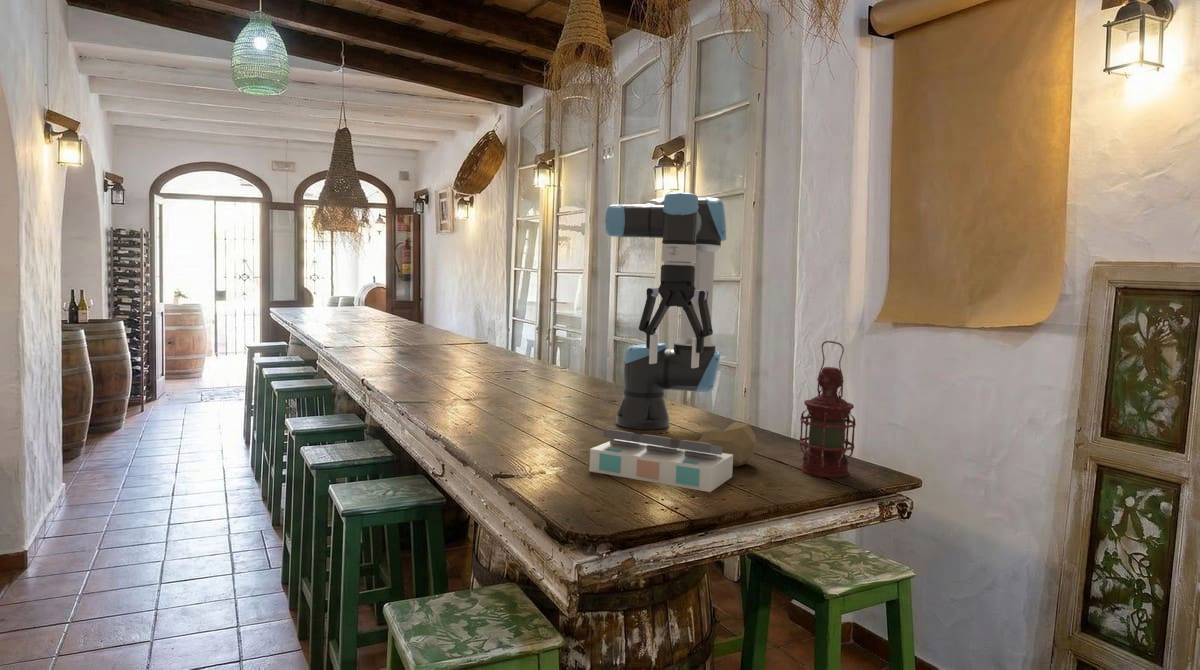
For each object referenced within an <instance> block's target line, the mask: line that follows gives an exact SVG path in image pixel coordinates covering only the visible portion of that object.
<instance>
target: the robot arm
mask: <svg viewBox="0 0 1200 670" xmlns="http://www.w3.org/2000/svg"><path fill="white" fill-rule="evenodd" d="M724 206H725V205H724V202H723V200H722V199H720V198H716V197H708V196H700V197H699V196H698V195H697V194H696V193H690V192H669V193H666V194H665V196H664V197H659V198H653V199H650V200H644V201H642V202H640V203H639V204H621V203H619V204H610V205H608V207H607V208H606V211H605V216H604V219H605V220H604V225H605V231H606V234H607V235H608V236H609V237H615V238H616V237H617V238H649V239H651V238H652V239H662V241H661V262H662V263H663V264H662V265H661V266H660V284H659V286H658V287H657V288H655V287H647V289H646V301H645V304H644V308H643V312H642V315H641V317H640V322H639V326H638V330H639V331H640V332H643V333H645V334H646V341H645V342H646V343H641V344H635V345H631V346H629V347H627V348H626V350H625V355H624V356H625V357H624V363H623V364H624V370H623V372H624V373H623V375H624V376H623V396H622V400H621V403H620V405H619V408H618V410H617V414H616V417H615V418H616V419H615V420H616V421H615V423H616V425H617V426H620V427H623V428H627V429H628V428H629V429H635V430H660V429H661V430H662V429H666V428H668V427H669V426H670V415H669V412H668V409H667V405H666V401H665V391H666V390H668V391H680V392H694V393H699V392H700V393H709V392H712V391H713V390H714V387H715V385H716V381H717V376H718V371H719V365H720V359H721V352H720V351H718V350H716V344H715V342H714V341H713V340H712V339H711V336H712V335H713V334H714V330H713V326H712V325H713V324H712V315H713V312H712V311H713V296H714V293H713V291H714V275H715V274H714V273H715V256H716V255H715V253H716V252H717V251H718V250H719V249H720V248H721V246H722V242H724V241H726V240H727V223H726V213H725V207H724ZM659 295H660V297H661V298H662V299H661V300H660V303H659V305H658V308H657V310H656V312H655V313H654V316H653V312H654V309H655V304H656V301H657V297H658V296H659ZM670 307H678V308H680V327H679V337H678V338H677V339H676V340H675V341H674V343H673V348H668V345H667V343H665V342H659V334H657V332H656V331H657V329H658V328H659V325H660V324H661V322H662V320H663V319H664V317H665V315H666V313H667V311H668V310H669V309H670ZM652 316H653V317H652Z"/></svg>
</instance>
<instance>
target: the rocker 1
mask: <svg viewBox="0 0 1200 670" xmlns="http://www.w3.org/2000/svg"><path fill="white" fill-rule="evenodd" d="M602 433H603V435H602V438H606V439H611V440H614V439H618V440H625V441H631V442H638V443H640V437H641V434H639V433H635V432H632V431H624V430H618V429H610V428H603V432H602Z"/></svg>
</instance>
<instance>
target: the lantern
mask: <svg viewBox="0 0 1200 670" xmlns="http://www.w3.org/2000/svg"><path fill="white" fill-rule="evenodd" d="M826 343H827V344H828V343H830V344H835V345H839V346H840V347H841V349H842V351H841V355H840V358H839V360H838V367H835V366H834V367H833V366H832V367H831V366H825V365H824V364H825V360H826V359H825V353H824V345H825V344H826ZM844 352H845V347H844V346H843V344H842V343H840V342H838V341H832V340H825V341H823V342H822V344H821V353H822V365H821V367H820V370H819V371H818V372H819V373H818V377H817V378H816V380H817V388H816V389H817V396H815V397H813V398H811V399H805V400H804V402H803V403H804V406H806V409H805V410H803V411H802V412H801V415H800V434H799V435H800V436H799V440H798V443H799V447H800V450H801V451H802V453H803V457H802V460H803V462H802V465H801V467H800V470H801V471H802V472H803V473H804V474H807V475H810V476H814V477H818V478H827V479H840V478H845V477H847V476H849V466H848V465H849V459H850V458H851V457H852V455H853V454H854V449H855V428H856V425H857V424H856V419H855V416H854V415H852V414H851V410H852V409H854V408H855V405H854V404H853V403H851V402H847V401H846V400H845V399H844V398H843V396H844V395H843V394H844V393H843V392H844V391H843V390H844V380H845V379H844V376H843V372H842V369H841V368H842V367H841V361H842V358H843V356H844ZM838 389H839V391H838ZM806 412H808V414H807V415H806V416H805V415H804V414H805V413H806ZM850 417H851V418H852V419H851V418H850ZM804 425H805V426H804ZM803 426H804V427H805V435H804V437H803ZM808 427H809V429H808ZM849 428H850V429H851V428H852V435H851V441H849ZM848 446H849V447H848ZM803 449H804V450H803ZM847 451H850V454H849V455H848V456H847V457H846V454H845V453H846V452H847Z"/></svg>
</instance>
